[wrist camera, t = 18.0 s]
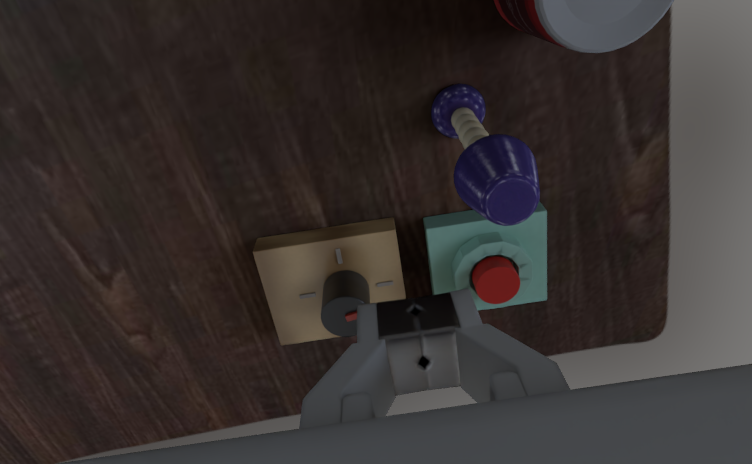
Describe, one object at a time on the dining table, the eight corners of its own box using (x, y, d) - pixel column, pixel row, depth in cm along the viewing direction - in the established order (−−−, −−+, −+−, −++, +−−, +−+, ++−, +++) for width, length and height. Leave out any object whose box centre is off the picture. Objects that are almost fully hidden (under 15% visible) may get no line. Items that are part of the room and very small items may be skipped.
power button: (473, 295, 44) (477, 307, 43) (470, 259, 43) (474, 270, 41) (515, 289, 44) (520, 300, 43) (513, 252, 43) (519, 263, 41)
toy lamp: (482, 142, 42) (552, 239, 27) (424, 145, 42) (464, 242, 27) (486, 82, 40) (565, 151, 25) (426, 84, 40) (469, 155, 25)
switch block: (433, 302, 49) (439, 328, 45) (422, 217, 45) (428, 238, 41) (539, 286, 49) (553, 311, 45) (538, 199, 44) (554, 219, 41)
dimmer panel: (283, 328, 50) (280, 347, 47) (257, 237, 45) (251, 252, 43) (407, 310, 49) (410, 327, 47) (393, 216, 45) (395, 230, 42)
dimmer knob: (333, 314, 46) (331, 345, 42) (316, 278, 44) (312, 307, 40) (375, 300, 46) (377, 331, 42) (359, 263, 44) (360, 292, 40)
